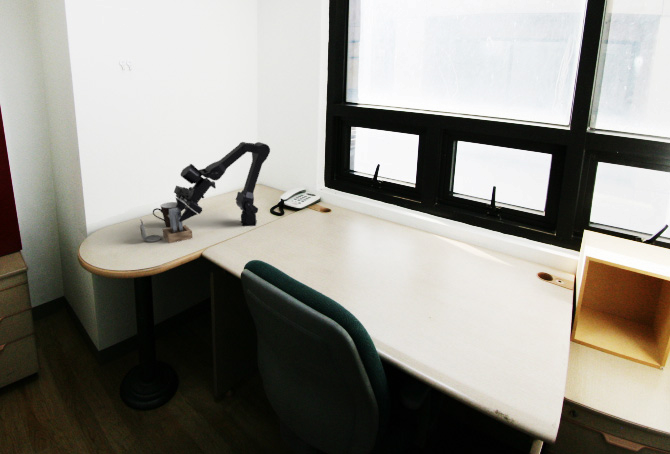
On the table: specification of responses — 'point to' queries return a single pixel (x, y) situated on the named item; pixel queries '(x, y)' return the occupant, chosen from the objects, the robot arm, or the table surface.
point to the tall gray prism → (175, 220)
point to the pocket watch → (148, 238)
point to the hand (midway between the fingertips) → (176, 218)
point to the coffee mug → (166, 212)
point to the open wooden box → (177, 234)
